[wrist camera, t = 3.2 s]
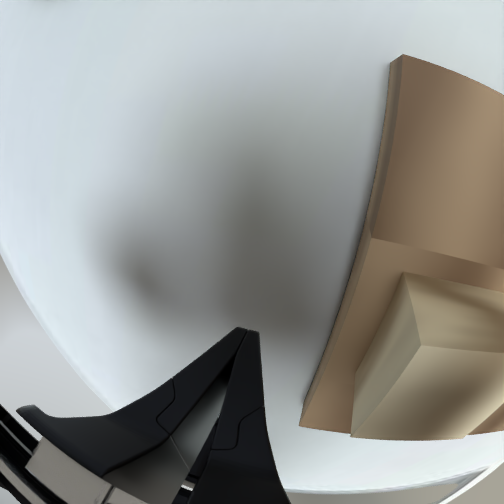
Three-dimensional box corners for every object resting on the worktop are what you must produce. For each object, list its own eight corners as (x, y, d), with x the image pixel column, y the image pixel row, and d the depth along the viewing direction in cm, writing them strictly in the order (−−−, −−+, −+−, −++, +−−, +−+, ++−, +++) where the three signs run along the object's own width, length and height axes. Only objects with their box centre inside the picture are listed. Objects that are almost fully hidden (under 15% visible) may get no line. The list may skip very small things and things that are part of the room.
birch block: (355, 373, 12) (350, 437, 9) (403, 271, 9) (421, 345, 6) (454, 383, 11) (462, 438, 8) (515, 295, 8) (546, 354, 5)
